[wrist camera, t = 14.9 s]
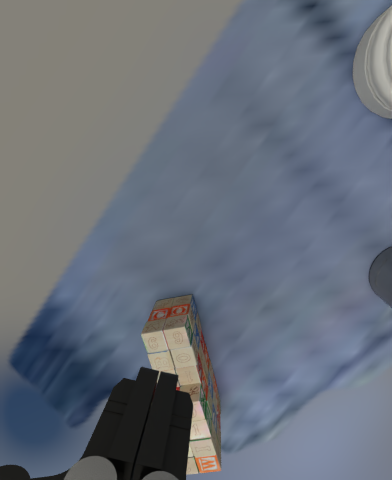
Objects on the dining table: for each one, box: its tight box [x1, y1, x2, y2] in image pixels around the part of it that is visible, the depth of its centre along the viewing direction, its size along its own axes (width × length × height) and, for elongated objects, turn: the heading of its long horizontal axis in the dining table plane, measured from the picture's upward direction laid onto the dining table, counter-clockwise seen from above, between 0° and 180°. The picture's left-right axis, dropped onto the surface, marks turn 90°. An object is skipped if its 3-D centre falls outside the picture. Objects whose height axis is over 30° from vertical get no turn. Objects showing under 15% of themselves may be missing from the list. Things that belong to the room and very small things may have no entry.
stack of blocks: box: [141, 295, 221, 474], centre depth 44 cm, size 21×6×12 cm, turn 13°
